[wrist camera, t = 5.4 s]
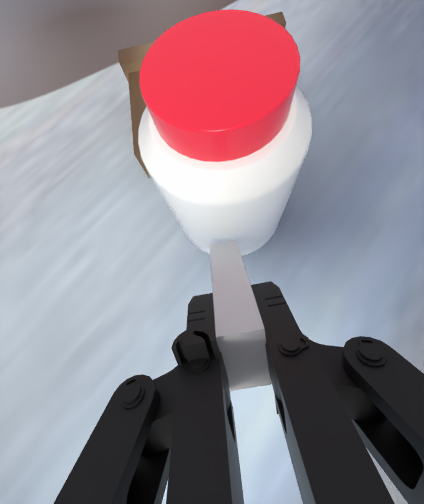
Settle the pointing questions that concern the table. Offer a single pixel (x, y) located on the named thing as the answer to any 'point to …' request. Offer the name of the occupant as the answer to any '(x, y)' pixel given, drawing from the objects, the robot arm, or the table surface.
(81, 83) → the table surface
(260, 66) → the pill bottle
